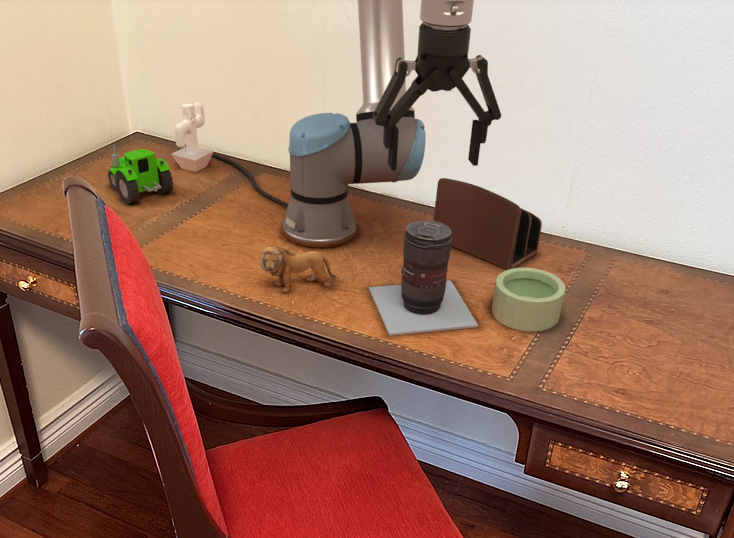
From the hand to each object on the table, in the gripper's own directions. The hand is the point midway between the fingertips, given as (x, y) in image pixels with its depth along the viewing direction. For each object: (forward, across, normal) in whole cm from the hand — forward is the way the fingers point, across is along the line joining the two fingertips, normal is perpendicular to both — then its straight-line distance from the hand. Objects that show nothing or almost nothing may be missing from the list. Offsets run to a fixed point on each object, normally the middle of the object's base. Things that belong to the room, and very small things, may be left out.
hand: (432, 165), depth 129 cm
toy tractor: (+27, -50, +57) cm, 81 cm away
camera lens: (+26, 0, -2) cm, 26 cm away
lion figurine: (+26, -21, +10) cm, 35 cm away
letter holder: (+27, +19, +20) cm, 38 cm away
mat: (+26, 0, -2) cm, 26 cm away
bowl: (+26, +18, -6) cm, 32 cm away
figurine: (+27, -37, +70) cm, 84 cm away
